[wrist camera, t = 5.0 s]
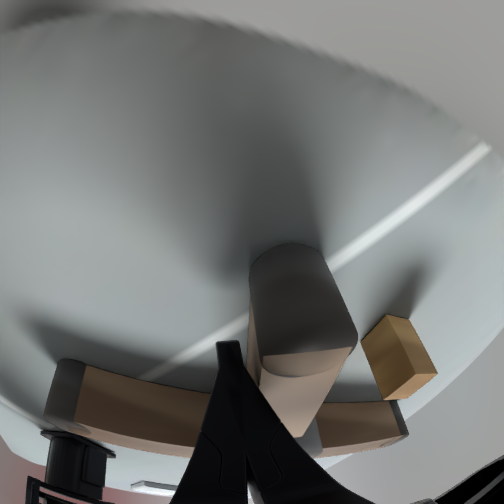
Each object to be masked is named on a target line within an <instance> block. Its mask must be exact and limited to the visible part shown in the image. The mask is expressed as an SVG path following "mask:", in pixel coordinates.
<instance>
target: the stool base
mask: <svg viewBox="0 0 504 504" xmlns="http://www.w3.org/2000/svg"><path fill="white" fill-rule="evenodd" d="M360 343H361V345H362V348H363V350H364V352H365V355H366V357H367V360H368V362H369V365H370V367H371V370H372V372H373V375H374V378H375V380H376V383H377V385H378V388H379V391H380V393H381V396H382V399H383V400H390V401H380V402H360V403H322V405H321V406H320V408H319V410H318V411H317V413H316V415H315V416H314V418H313V420H312V421H311V423H310V425H309V426H308V428H307V429H306V431H305V433H304V434H303V436H302V437H295V438H294V439H295V440H296V441H297V442H298V444H299V445H300V446H301V447H302V448H303V449H304V450H305V451H306V452H307V453H308V454H309V455H310V456H311V457H312V458H321V457H329V456H337V455H344V454H350V453H356V452H362V451H366V450H372V449H377V448H382V447H386V446H389V445H392V444H394V443H396V442H398V441H401V440H402V439H404V438H406V437H407V436H408V435H409V432H408V430H407V427H406V424H405V421H404V419H403V416H402V413H401V411H400V408H399V405H398V403H397V401H396V400H393V399H404V398H408V397H409V396H411V395H412V394H413V393H415V392H416V391H417V390H418V389H420V388H421V387H422V386H423V385H425V384H426V383H427V382H428V381H430V380H431V379H432V378H433V377H434V376H436V375H437V374H438V373H437V371H436V369H435V367H434V365H433V363H432V361H431V359H430V357H429V355H428V353H427V351H426V349H425V347H424V346H423V344H422V342H421V340H420V338H419V336H418V334H417V333H416V331H415V329H414V327H413V326H412V324H411V322H410V320H408V319H404V318H399V317H395V316H391V315H387V314H386V315H385V317H384V318H383V319H382V320H381V321H380V322H379V323H378V324H377V325H376V326H375V327H374V329H373V330H372V331H371V332H370V333H369V334H368V335H367V336H366V337H365V338H364V339H363V340H362V341H361V342H360ZM210 395H211V394H208V393H201V392H195V391H190V390H184V389H179V388H174V387H169V386H164V385H159V384H155V383H150V382H146V381H142V380H138V379H134V378H130V377H126V376H122V375H118V374H115V373H111V372H108V371H104V370H101V369H98V368H94V367H91V366H88V365H86V364H83V363H81V362H78V361H75V360H71V359H62V360H60V361H59V362H58V365H57V368H56V371H55V374H54V378H53V381H52V384H51V388H50V391H49V395H48V399H47V402H46V406H45V410H44V414H43V416H44V418H45V419H46V420H47V421H48V422H50V423H51V424H53V425H55V426H56V427H58V428H60V429H63V430H65V431H68V432H71V433H74V434H78V435H81V436H84V437H88V438H91V439H95V440H98V441H102V442H106V443H110V444H114V445H118V446H122V447H127V448H131V449H136V450H141V451H146V452H152V453H158V454H164V455H171V456H179V457H187V458H191V456H192V454H193V451H194V448H195V445H196V442H197V438H198V435H199V432H201V431H200V429H201V425H202V422H203V419H204V415H205V412H206V408H207V405H208V401H209V398H210Z"/></svg>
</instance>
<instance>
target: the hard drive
mask: <svg viewBox="0 0 504 504" xmlns="http://www.w3.org/2000/svg"><path fill="white" fill-rule="evenodd" d="M177 487H178V486H173V485H166V484H159V483H153V482H147V481H143V482H140V483H137V484H134V485H131V489H132V490H135V491H140V492H146V493H152V494H159V495H173V494H174V493H175V491H176V489H177Z"/></svg>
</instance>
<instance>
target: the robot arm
mask: <svg viewBox="0 0 504 504" xmlns="http://www.w3.org/2000/svg"><path fill="white" fill-rule="evenodd" d="M216 349H217V359H218V371H217V374H216V378H215V381H214V384H213V388H212V391H211V395H210V398H209V401H208V405H207V408H206V412H205V415H204V419H203V422H202V425H201V429H200V431H201V432H199V435H198V438H197V442H196V445H195V448H194V451H193V454H192V456H191V459H190V461H189V464H188V466H187V468H186V471H185V473H184V475H183V477H182V479H181V481H180V483H179V485H178V487H177V489H176V491H175V493H174V496H173V498H172V499H171V502H170V503H169V504H248V487H249V490H250V493H251V496H252V499H253V501H254V503H255V504H375V503H373V502H371V501H369V500H367V499H365V498H363V497H361V496H359V495H357V494H355V493H354V492H352V491H350V490H348V489H346V488H345V487H344V486H342V485H341V484H339V483H338V482H337V481H336V480H335V479H333V478H332V477H331V476H330V475H329V474H328V473H327V472H326V471H325V470H324V469H323V468H322V467H321V466H320V465H319V464H318V463H317V462H316V461H315V460H314V459H313V458H312V457H311V456H310V455H309V454H308V453H307V452H306V451H305V450H304V449H303V448H302V447H301V446H300V445H299V444H298V442H297V441H296V440H295V439H294V437H293V436H292V435H291V433H290V432H289V431H288V429H287V428H286V427H285V425H284V424H283V423H282V422H281V420H280V418H279V417H278V415H277V414H276V413H275V411H274V410H273V408H272V407H271V405H270V404H269V402H268V401H267V399H266V398H265V396H264V395H263V394H262V392H261V391H260V389H259V388H258V386H257V385H256V383H255V381H254V380H253V378H252V377H251V375H250V374H249V372H248V371H247V369H246V368H245V366H244V364H243V359H242V354H241V348H240V343H239V341H238V340H230V341H219V342H217V343H216ZM40 434H41V435H42V436H44V437H45V438H47V439H49V440H51V441H50V447H49V453H48V459H47V466H46V473H45V482H41V481H40V480H38V479H36V478H33V477H31V476H28V477H27V485H26V497H25V498H26V499H25V504H41V503H39V499H42V500H43V504H76V503H73V502H70V501H67V500H63V499H61V498H58V497H55V496H52V495H49V494H46V493H44V492H41V491H39V488H40V487H42V488H44V489H47V490H49V491H52V492H55V493H58V494H61V495H63V496H66V497H69V498H73V499H76V500H79V501H83V502H86V503H90V504H115V503H111V502H103V501H99V500H102V493H103V488H104V487H105V474H106V462H107V458H116V454H114V453H111V452H109V451H107V450H105V449H103V448H101V447H98V446H96V445H94V444H92V443H90V442H88V441H86V440H84V439H82V438H80V437H79V436H77V435H74V434H71V433H59V432H48V431H41V433H40ZM247 484H248V486H247ZM411 504H504V455H503V456H501V457H499V458H498V459H496V460H494V461H493V462H491V463H489V464H487V465H485V466H484V467H482V468H481V469H480V470H478V471H476V472H475V473H473V474H472V475H470V476H469V477H467V478H466V479H464V480H463V481H461V482H460V483H458V484H457V485H456V486H454V487H453V488H451V489H449V490H448V491H446V492H445V493H443V494H442V495H440V496H438V497H437V498H435V499H433V500H432V499H424V500H421V501H417V502H414V503H411Z"/></svg>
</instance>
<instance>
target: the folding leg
mask: <svg viewBox="0 0 504 504" xmlns="http://www.w3.org/2000/svg"><path fill="white" fill-rule="evenodd" d="M249 288H250V295H251V299H250V316H249V333H248V350H247V367H246V369H247V371H248V372H249V374H250V375H251V377H252V378H253V380H254V381H255V383H256V385H257V386H258V388H259V389H260V391H261V392H262V394H263V395H264V396H265V398H266V399H267V401H268V402H269V404H270V405H271V407H272V408H273V410H274V411H275V413H276V414H277V415H278V417H279V418H280V420H281V422H282V423H283V424H284V425H285V427H286V428H287V429H288V431H289V432H290V433H291V435H292V436H293V437H294V438H295V437H302V436H303V434H304V433H305V431H306V429H307V428H308V426H309V425H310V423H311V421H312V420H313V418H314V416H315V415H316V413H317V411H318V410H319V408H320V406H321V405H322V403H323V401H324V399H325V398H326V396H327V394H328V392H329V391H330V389H331V387H332V385H333V383H334V382H335V380H336V378H337V376H338V374H339V372H340V370H341V368H342V366H343V364H344V363H345V361H346V359H347V357H348V356H349V355H350V354H351V353H352V351H353V350H354V348H355V347H356V344H357V341H358V333H357V330H356V328H355V325H354V323H353V321H352V318H351V316H350V314H349V312H348V309H347V307H346V305H345V303H344V300H343V298H342V296H341V294H340V292H339V289H338V287H337V285H336V283H335V281H334V279H333V276H332V274H331V272H330V270H329V268H328V266H327V264H326V262H325V260H324V258H323V256H322V255H321V254H320V253H319V252H318V251H317V250H316V249H314V248H312V247H310V246H307V245H304V244H285V245H281V246H277V247H275V248H272V249H270V250H268V251H267V252H265V253H264V254H262V255H261V256H260V257H259V258H258V259H257V260H256V261H255V263H254V264H253V266H252V268H251V270H250V273H249Z"/></svg>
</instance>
